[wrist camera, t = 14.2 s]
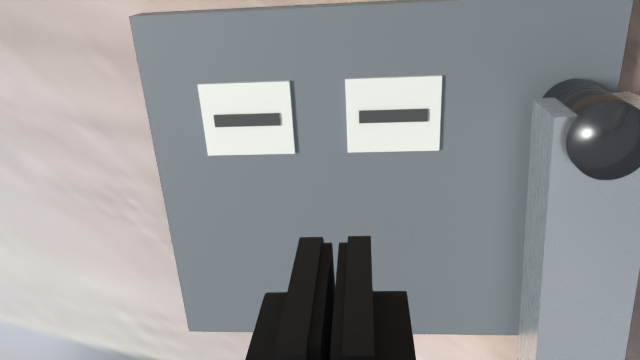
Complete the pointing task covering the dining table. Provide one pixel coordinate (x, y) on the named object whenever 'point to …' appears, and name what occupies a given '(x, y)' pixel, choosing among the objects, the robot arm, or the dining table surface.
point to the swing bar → (581, 224)
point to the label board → (361, 143)
